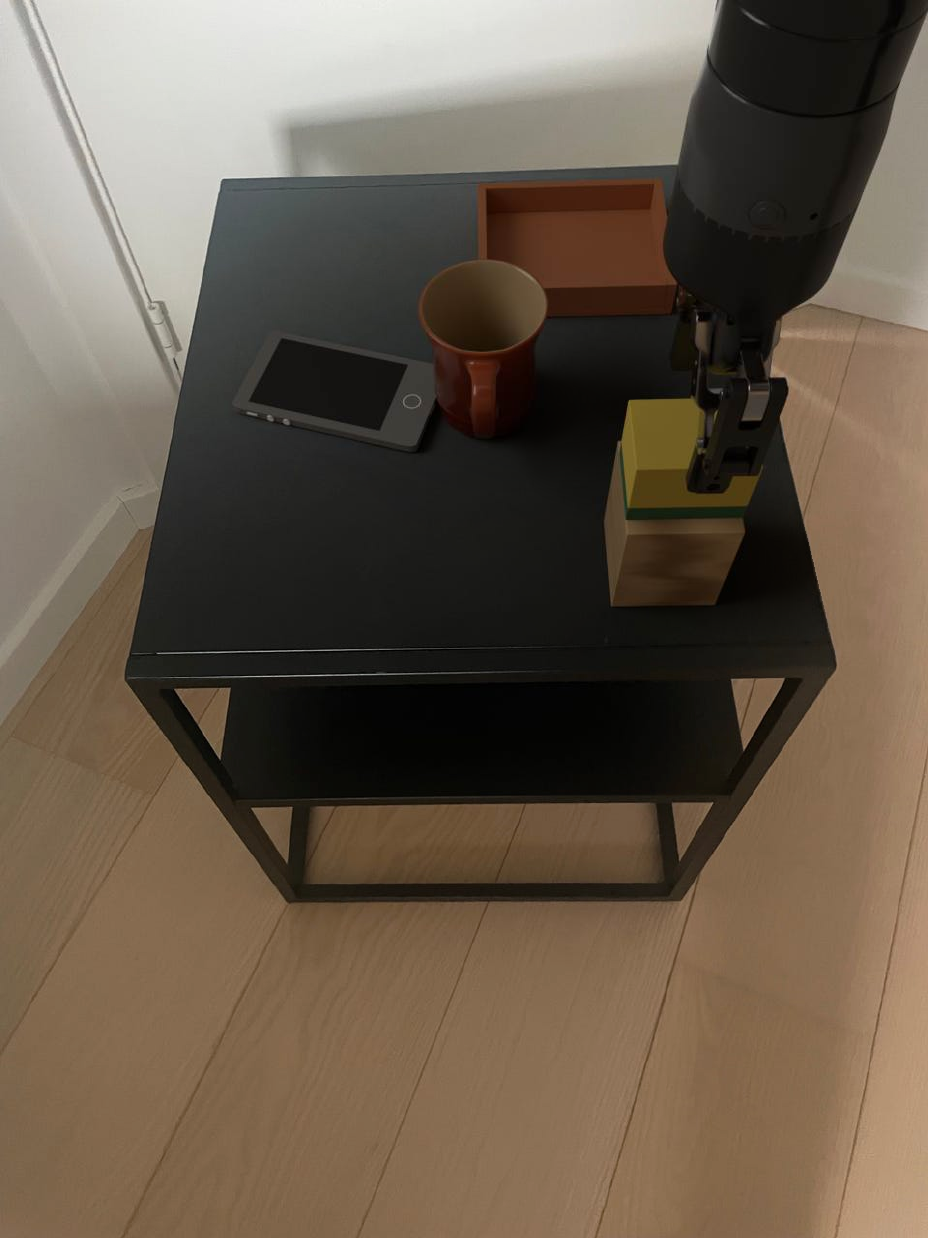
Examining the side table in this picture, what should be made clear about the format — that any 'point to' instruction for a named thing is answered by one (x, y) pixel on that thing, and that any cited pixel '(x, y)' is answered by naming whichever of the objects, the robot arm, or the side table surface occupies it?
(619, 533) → the tall wooden block
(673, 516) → the sponge
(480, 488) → the side table surface
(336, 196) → the side table surface
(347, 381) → the smartphone
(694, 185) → the robot arm
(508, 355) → the mug
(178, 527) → the side table surface
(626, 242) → the tray
